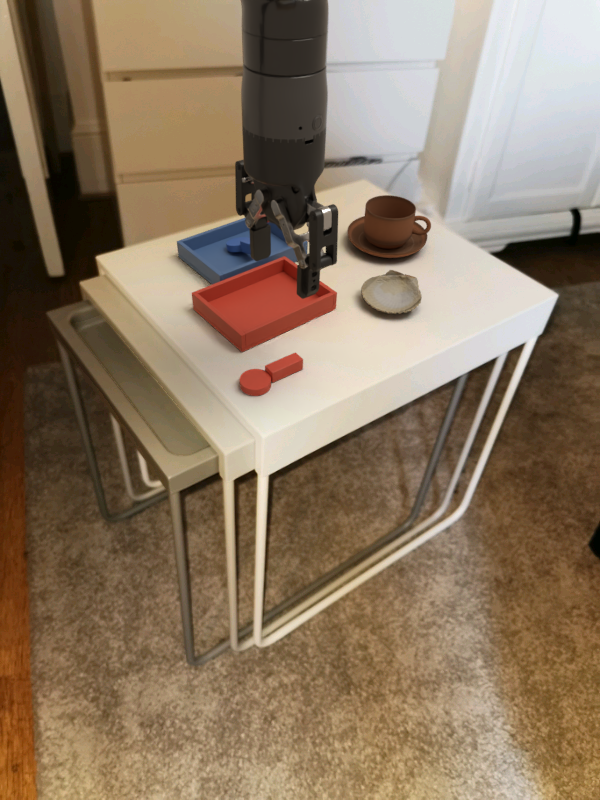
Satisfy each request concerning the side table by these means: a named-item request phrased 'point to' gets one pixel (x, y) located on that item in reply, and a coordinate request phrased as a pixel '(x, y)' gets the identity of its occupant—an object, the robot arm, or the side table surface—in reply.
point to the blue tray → (217, 261)
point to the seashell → (392, 292)
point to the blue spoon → (239, 245)
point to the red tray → (260, 304)
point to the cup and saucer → (389, 228)
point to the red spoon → (269, 374)
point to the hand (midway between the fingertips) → (283, 275)
